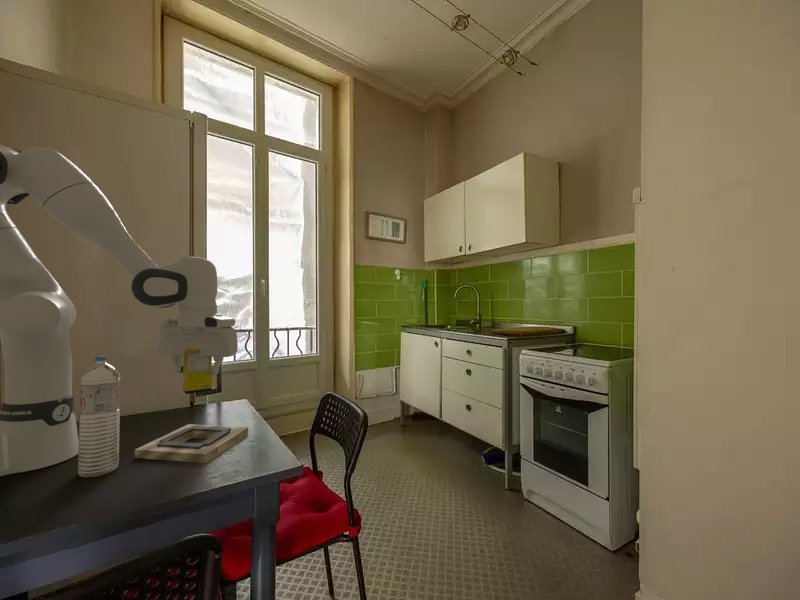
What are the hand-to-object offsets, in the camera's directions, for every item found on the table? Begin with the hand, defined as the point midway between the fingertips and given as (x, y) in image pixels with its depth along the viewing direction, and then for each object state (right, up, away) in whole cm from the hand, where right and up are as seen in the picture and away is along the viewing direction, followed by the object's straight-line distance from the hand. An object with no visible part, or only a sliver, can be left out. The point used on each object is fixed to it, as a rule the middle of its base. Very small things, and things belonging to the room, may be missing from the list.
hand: (197, 373), depth 93 cm
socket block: (0, -19, 0) cm, 18 cm away
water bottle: (-13, -19, -15) cm, 27 cm away
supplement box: (0, -5, 0) cm, 5 cm away
